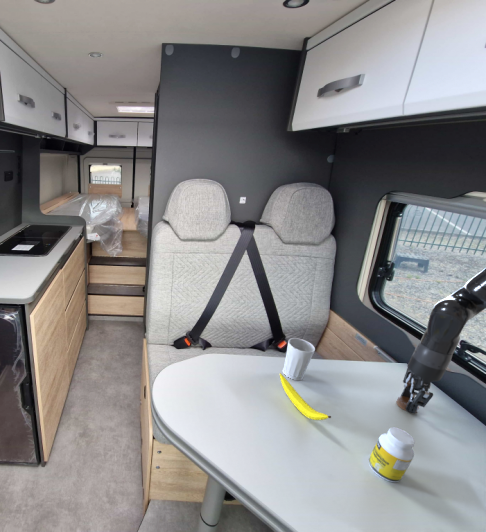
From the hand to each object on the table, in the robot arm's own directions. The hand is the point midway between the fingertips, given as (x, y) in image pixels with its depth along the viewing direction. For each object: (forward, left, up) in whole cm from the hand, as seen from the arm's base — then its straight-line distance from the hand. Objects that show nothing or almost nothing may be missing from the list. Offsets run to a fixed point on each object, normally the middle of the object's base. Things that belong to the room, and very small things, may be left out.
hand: (407, 404), depth 95 cm
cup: (+32, +3, -1) cm, 32 cm away
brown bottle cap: (0, 0, -1) cm, 1 cm away
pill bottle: (+11, +30, -1) cm, 32 cm away
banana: (+30, +19, -1) cm, 36 cm away
